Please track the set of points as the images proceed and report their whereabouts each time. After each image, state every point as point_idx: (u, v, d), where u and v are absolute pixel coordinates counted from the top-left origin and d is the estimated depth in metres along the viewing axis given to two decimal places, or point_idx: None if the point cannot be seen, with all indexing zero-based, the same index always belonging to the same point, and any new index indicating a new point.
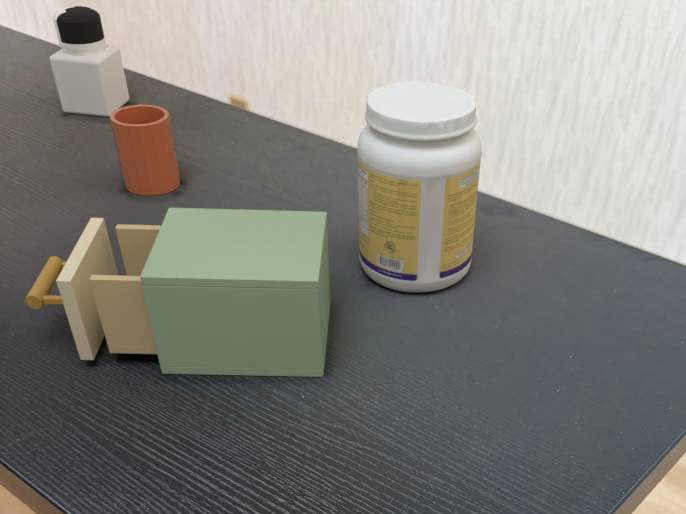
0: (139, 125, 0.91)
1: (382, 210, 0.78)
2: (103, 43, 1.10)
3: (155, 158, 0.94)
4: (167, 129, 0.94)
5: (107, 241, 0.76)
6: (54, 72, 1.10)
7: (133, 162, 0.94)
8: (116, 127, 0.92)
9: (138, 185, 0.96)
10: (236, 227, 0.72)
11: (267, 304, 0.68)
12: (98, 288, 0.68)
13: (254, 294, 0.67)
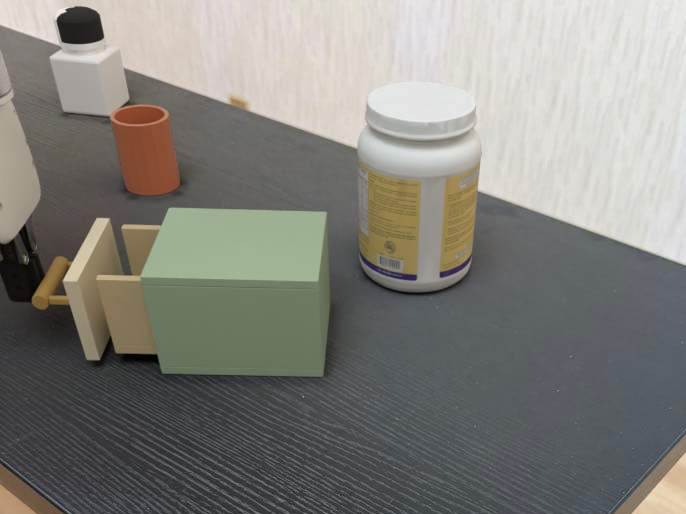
0: (139, 125, 0.91)
1: (382, 210, 0.78)
2: (103, 43, 1.10)
3: (155, 158, 0.94)
4: (167, 129, 0.94)
5: (113, 241, 0.76)
6: (54, 72, 1.10)
7: (133, 162, 0.94)
8: (116, 127, 0.92)
9: (138, 185, 0.96)
10: (236, 227, 0.72)
11: (267, 304, 0.68)
12: (104, 288, 0.68)
13: (254, 294, 0.67)
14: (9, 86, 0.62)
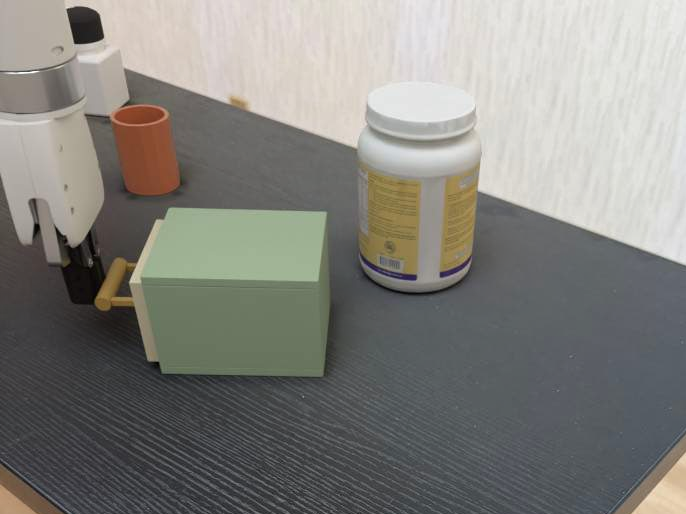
0: (139, 125, 0.91)
1: (382, 210, 0.78)
2: (103, 43, 1.10)
3: (155, 158, 0.94)
4: (167, 129, 0.94)
5: None
6: None
7: (133, 162, 0.94)
8: (116, 127, 0.92)
9: (138, 185, 0.96)
10: (236, 227, 0.72)
11: (267, 304, 0.68)
12: None
13: (254, 294, 0.67)
14: (84, 91, 0.62)
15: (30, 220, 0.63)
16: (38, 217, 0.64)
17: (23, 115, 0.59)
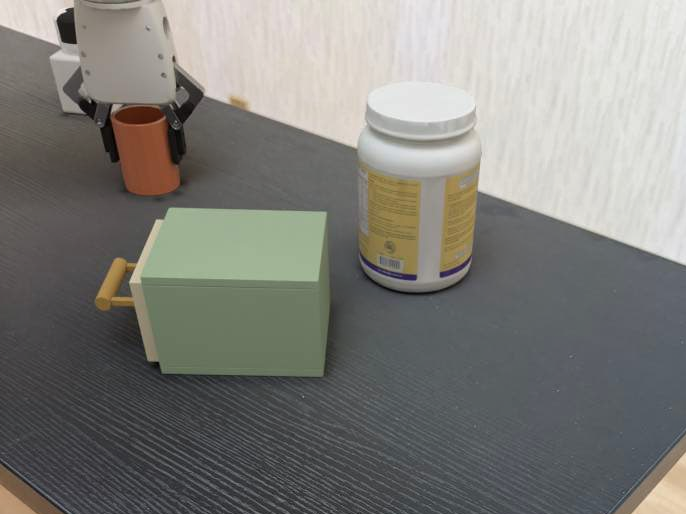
0: (139, 125, 0.91)
1: (382, 210, 0.78)
2: None
3: (155, 158, 0.94)
4: (167, 129, 0.94)
5: None
6: (54, 72, 1.10)
7: (133, 162, 0.94)
8: (116, 127, 0.92)
9: (138, 185, 0.96)
10: (236, 227, 0.72)
11: (267, 304, 0.68)
12: None
13: (254, 294, 0.67)
14: (111, 0, 0.82)
15: None
16: None
17: None
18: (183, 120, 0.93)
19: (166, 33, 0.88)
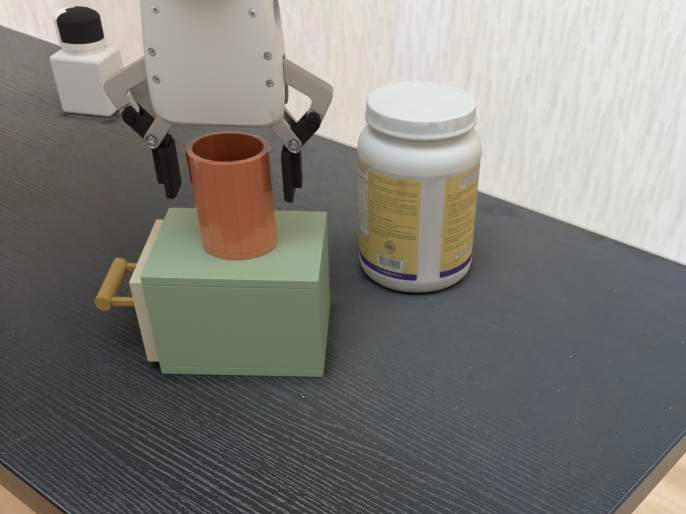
0: (230, 163, 0.62)
1: (382, 210, 0.78)
2: (103, 43, 1.10)
3: (249, 209, 0.65)
4: (267, 167, 0.65)
5: None
6: (54, 72, 1.10)
7: (218, 214, 0.65)
8: (196, 165, 0.63)
9: (223, 246, 0.67)
10: None
11: (267, 304, 0.68)
12: None
13: (254, 294, 0.67)
14: None
15: None
16: None
17: None
18: (303, 136, 0.63)
19: (274, 21, 0.59)
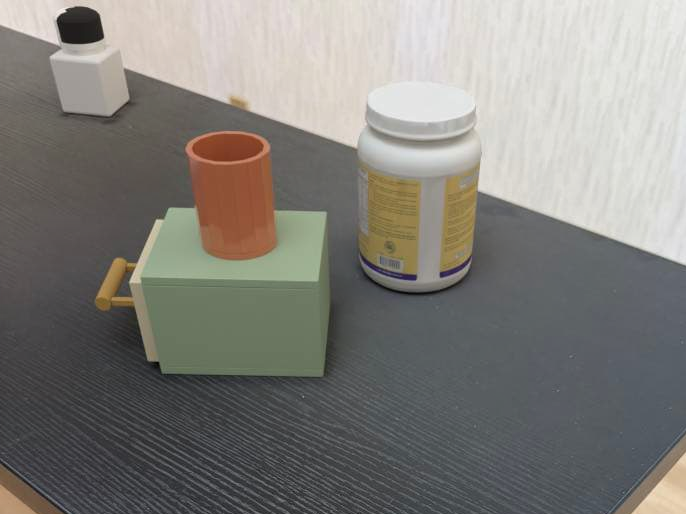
0: (230, 163, 0.62)
1: (382, 210, 0.78)
2: (103, 43, 1.10)
3: (249, 209, 0.65)
4: (267, 167, 0.65)
5: None
6: (54, 72, 1.10)
7: (218, 214, 0.65)
8: (196, 165, 0.63)
9: (223, 246, 0.67)
10: None
11: (267, 304, 0.68)
12: None
13: (254, 294, 0.67)
14: None
15: None
16: None
17: None
18: None
19: None
